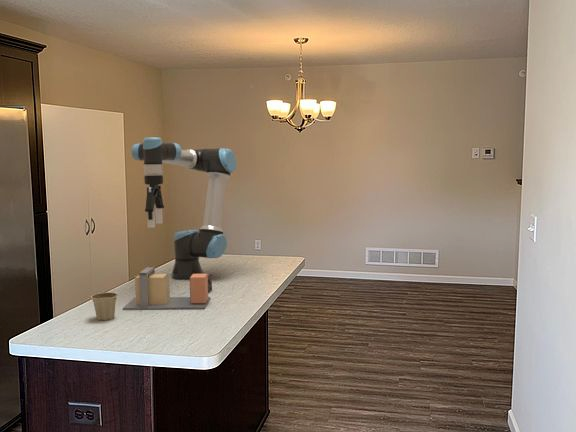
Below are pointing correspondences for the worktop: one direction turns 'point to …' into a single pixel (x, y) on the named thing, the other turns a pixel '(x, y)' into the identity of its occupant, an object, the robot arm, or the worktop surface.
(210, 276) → the box
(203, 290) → the block
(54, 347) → the worktop surface
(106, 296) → the flower pot
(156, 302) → the holder
